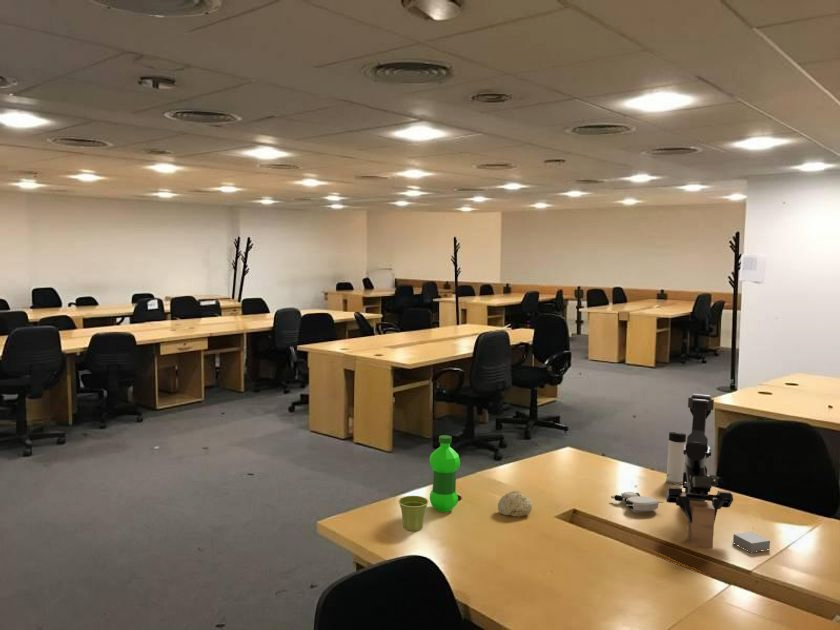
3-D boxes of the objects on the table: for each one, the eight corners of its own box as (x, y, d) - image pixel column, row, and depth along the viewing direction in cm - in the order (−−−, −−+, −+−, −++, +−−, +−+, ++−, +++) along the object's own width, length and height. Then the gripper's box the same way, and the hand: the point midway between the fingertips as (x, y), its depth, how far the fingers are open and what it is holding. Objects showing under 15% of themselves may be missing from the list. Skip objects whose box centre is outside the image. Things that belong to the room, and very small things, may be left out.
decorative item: (519, 511, 215) (497, 491, 221) (511, 530, 219) (490, 510, 226) (542, 498, 223) (521, 479, 229) (535, 517, 227) (514, 498, 233)
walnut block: (687, 537, 208) (689, 500, 207) (707, 539, 207) (710, 501, 206) (691, 545, 202) (693, 507, 201) (712, 547, 201) (714, 509, 200)
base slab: (750, 540, 207) (751, 531, 206) (769, 550, 200) (770, 540, 200) (733, 543, 204) (733, 534, 204) (751, 553, 198) (751, 543, 197)
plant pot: (424, 535, 205) (425, 507, 204) (394, 531, 207) (395, 504, 206) (430, 523, 214) (431, 497, 213) (401, 520, 216) (402, 494, 215)
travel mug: (665, 483, 258) (667, 432, 257) (667, 478, 264) (670, 429, 262) (682, 486, 255) (685, 435, 254) (684, 481, 261) (687, 431, 259)
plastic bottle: (463, 512, 224) (466, 439, 222) (434, 516, 220) (436, 442, 218) (451, 501, 233) (453, 431, 231) (423, 505, 230) (425, 434, 227)
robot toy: (608, 504, 237) (634, 517, 223) (608, 491, 237) (634, 503, 223) (637, 501, 241) (664, 513, 227) (637, 488, 241) (665, 500, 227)
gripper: (669, 461, 208) (674, 509, 198) (733, 466, 205) (741, 515, 195) (663, 478, 216) (668, 524, 207) (725, 483, 213) (732, 530, 203)
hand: (702, 523), depth 202 cm, fingers closed on walnut block, 6 cm apart
